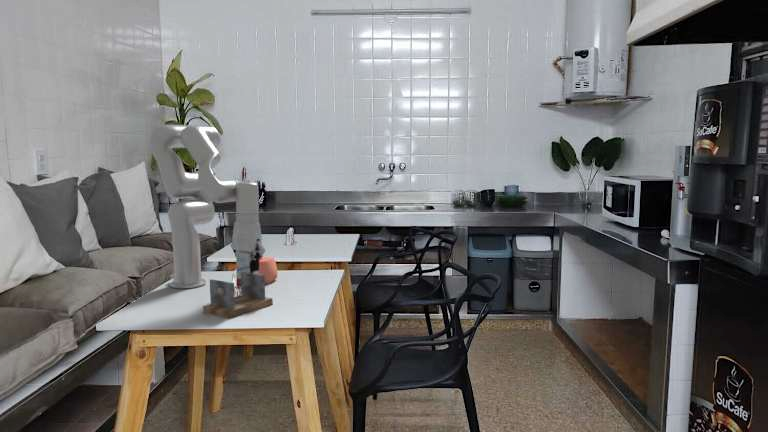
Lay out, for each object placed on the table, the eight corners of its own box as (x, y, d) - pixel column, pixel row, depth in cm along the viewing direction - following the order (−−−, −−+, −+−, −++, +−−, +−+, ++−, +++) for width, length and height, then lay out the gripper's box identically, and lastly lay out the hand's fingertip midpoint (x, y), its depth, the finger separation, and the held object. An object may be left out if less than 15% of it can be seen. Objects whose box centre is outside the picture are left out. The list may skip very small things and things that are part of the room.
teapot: (282, 277, 226) (281, 251, 225) (264, 288, 209) (263, 260, 207) (255, 276, 228) (254, 251, 227) (235, 287, 211) (234, 259, 210)
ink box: (249, 287, 194) (248, 253, 193) (235, 286, 195) (235, 252, 194) (259, 281, 203) (259, 248, 201) (246, 280, 204) (246, 247, 202)
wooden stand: (203, 312, 178) (201, 280, 177) (246, 299, 193) (245, 270, 192) (230, 318, 171) (228, 285, 170) (272, 304, 186) (271, 274, 185)
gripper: (221, 216, 197) (222, 267, 200) (257, 222, 188) (257, 275, 190) (238, 214, 204) (238, 264, 206) (273, 219, 194) (273, 271, 197)
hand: (247, 269), depth 198 cm, fingers closed on ink box, 6 cm apart
